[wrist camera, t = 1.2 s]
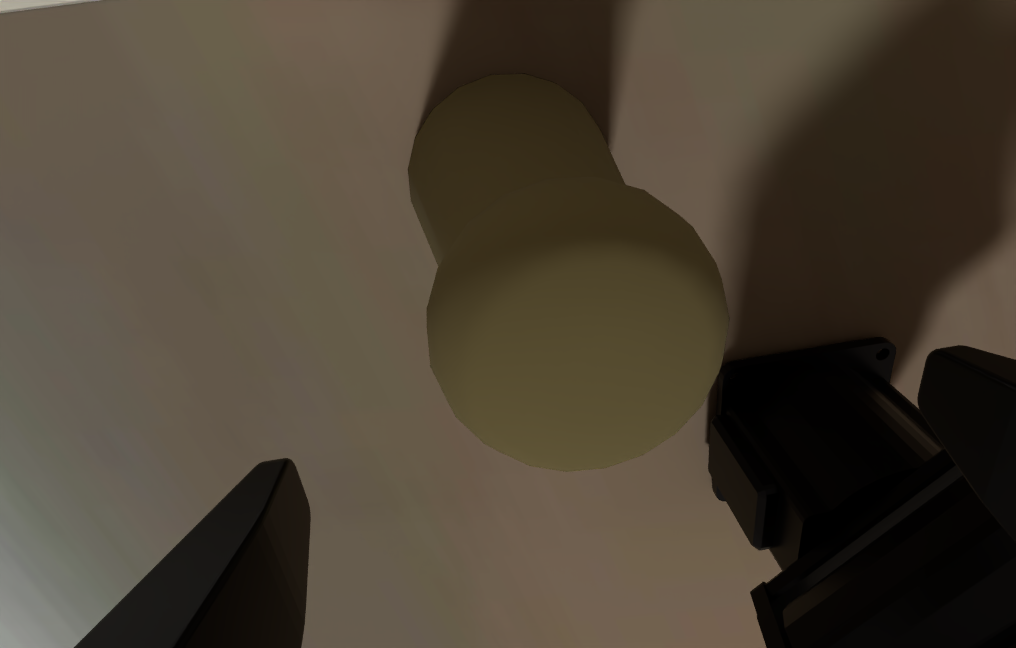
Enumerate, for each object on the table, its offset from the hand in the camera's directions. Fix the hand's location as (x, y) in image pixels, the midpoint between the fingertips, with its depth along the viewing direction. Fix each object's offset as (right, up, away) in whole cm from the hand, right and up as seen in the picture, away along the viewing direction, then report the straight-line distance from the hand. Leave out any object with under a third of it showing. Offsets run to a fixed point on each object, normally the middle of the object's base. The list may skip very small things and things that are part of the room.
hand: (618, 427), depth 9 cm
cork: (-2, +6, +11) cm, 12 cm away
